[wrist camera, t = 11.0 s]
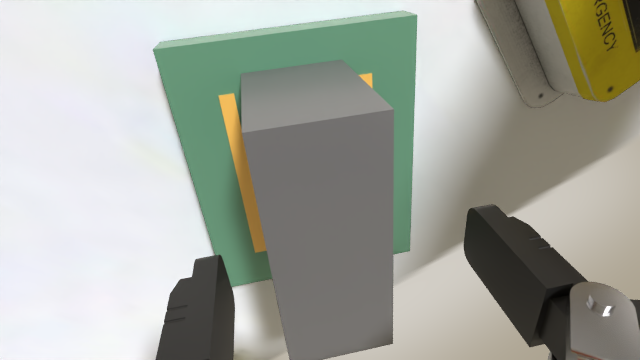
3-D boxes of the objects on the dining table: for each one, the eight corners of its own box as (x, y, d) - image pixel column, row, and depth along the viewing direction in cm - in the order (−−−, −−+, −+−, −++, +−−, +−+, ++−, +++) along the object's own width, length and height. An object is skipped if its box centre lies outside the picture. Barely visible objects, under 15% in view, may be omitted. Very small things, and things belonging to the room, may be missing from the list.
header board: (160, 41, 15) (129, 73, 11) (403, 10, 16) (462, 28, 12) (226, 268, 21) (223, 345, 17) (399, 234, 22) (438, 299, 18)
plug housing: (240, 73, 15) (241, 133, 10) (341, 59, 15) (394, 108, 10) (277, 261, 20) (291, 366, 15) (353, 246, 20) (392, 343, 15)
